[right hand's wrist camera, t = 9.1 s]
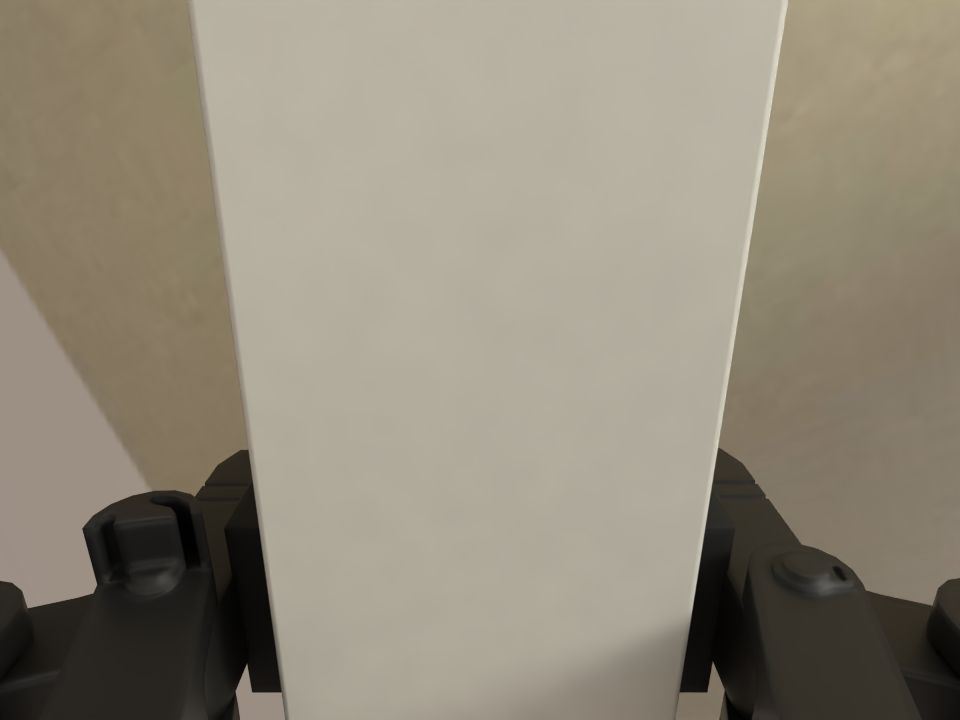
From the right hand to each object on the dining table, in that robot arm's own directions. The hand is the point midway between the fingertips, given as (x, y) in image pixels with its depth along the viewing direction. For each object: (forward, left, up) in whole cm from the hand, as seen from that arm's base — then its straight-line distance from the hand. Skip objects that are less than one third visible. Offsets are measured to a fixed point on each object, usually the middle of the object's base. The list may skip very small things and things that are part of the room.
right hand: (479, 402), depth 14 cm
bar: (-22, -5, -1) cm, 22 cm away
